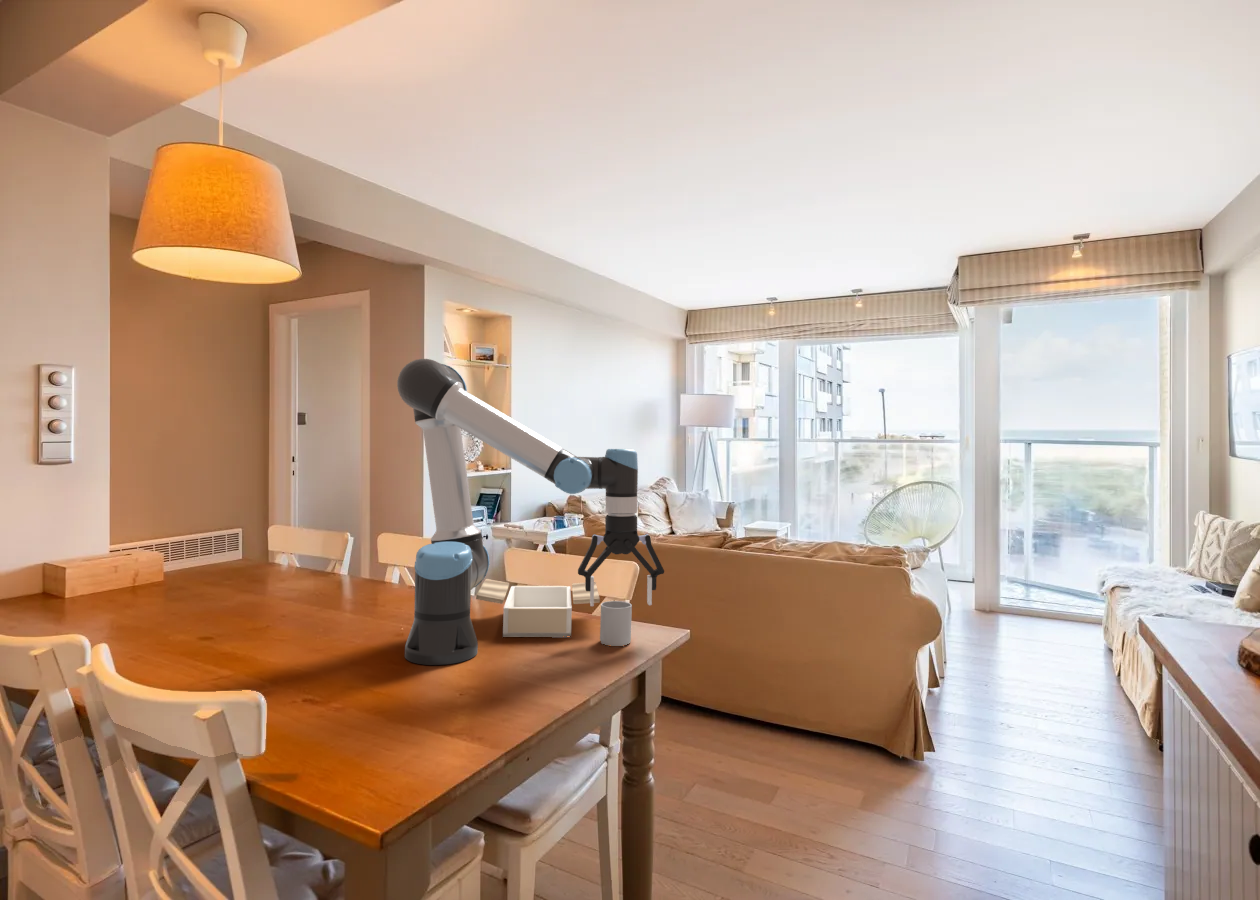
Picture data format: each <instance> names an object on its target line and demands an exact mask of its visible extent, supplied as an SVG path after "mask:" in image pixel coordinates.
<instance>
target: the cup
mask: <svg viewBox="0 0 1260 900" xmlns="http://www.w3.org/2000/svg"><path fill="white" fill-rule="evenodd" d="M632 607H633V606H632V604H631V603H630V602H628V601H622V600H609V601H608V600H607V601H604V602H602V603H601V604H600V623H599V624H600V627H599V628H600V629H599V630H600V631H599V640H600V641H601V642H600V641H599V642H600V643H601V645H603V644H605V645H611V646H623V645H627V644H629V643H630V644H631V640H632ZM630 644H629V645H630ZM605 645H604V646H605ZM627 646H628V645H627ZM623 647H624V646H623Z"/></svg>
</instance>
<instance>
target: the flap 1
mask: <svg viewBox="0 0 1260 900" xmlns="http://www.w3.org/2000/svg"><path fill="white" fill-rule="evenodd" d="M484 579H485V580H483V583H482V584H481V587H480V588H479V590H478V592H477V594H476V596H475V597H476V598H475V600H479V601H485V602H490V603H496V604H502V605H503V603H504V601H505V598H506V595H507V594H508V593H507V592H508V590H509V587H510V582H507V581H505V582H504V581H500V580H494V579H490V578H484Z"/></svg>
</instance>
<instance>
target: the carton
mask: <svg viewBox="0 0 1260 900" xmlns="http://www.w3.org/2000/svg"><path fill="white" fill-rule="evenodd" d="M507 594H508V595H507V597H506V600H505V603H504V605H503V618H502V619H503V620H502V623H503V624H502V625H503V626H502V638H503V637H552V638H568V637H567V636H571V637H572V612H573V611H572V608H573V606H572V588H571V586H566V585H512V586H510V589H509V592H508V593H507ZM563 636H564V637H563Z"/></svg>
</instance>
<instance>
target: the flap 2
mask: <svg viewBox="0 0 1260 900" xmlns="http://www.w3.org/2000/svg"><path fill="white" fill-rule="evenodd" d="M571 593H572V600H573V601H572V602H573V603H572V604H573V605H580V604H581V605H582V604H583V605H584V604H590V591H586V589H585V582H577V583H576V582H574V583H571ZM600 600H601V598H600V595H599V590H598V587H597V582H596V581H594V604H597V603H598V604H599V603H600V602H601V601H600Z"/></svg>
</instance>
